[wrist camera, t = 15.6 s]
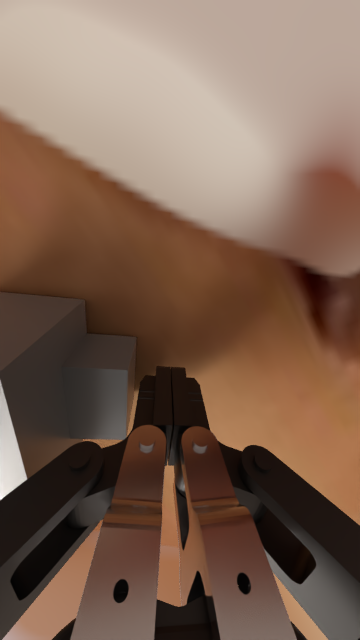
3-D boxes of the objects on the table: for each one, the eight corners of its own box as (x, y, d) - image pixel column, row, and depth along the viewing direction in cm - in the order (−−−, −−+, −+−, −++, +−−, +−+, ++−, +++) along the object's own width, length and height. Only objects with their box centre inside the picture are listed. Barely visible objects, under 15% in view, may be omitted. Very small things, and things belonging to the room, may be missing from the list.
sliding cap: (22, 414, 12) (-79, 544, 7) (-8, 291, 9) (-214, 361, 4) (132, 417, 13) (113, 537, 8) (138, 304, 10) (111, 378, 5)
